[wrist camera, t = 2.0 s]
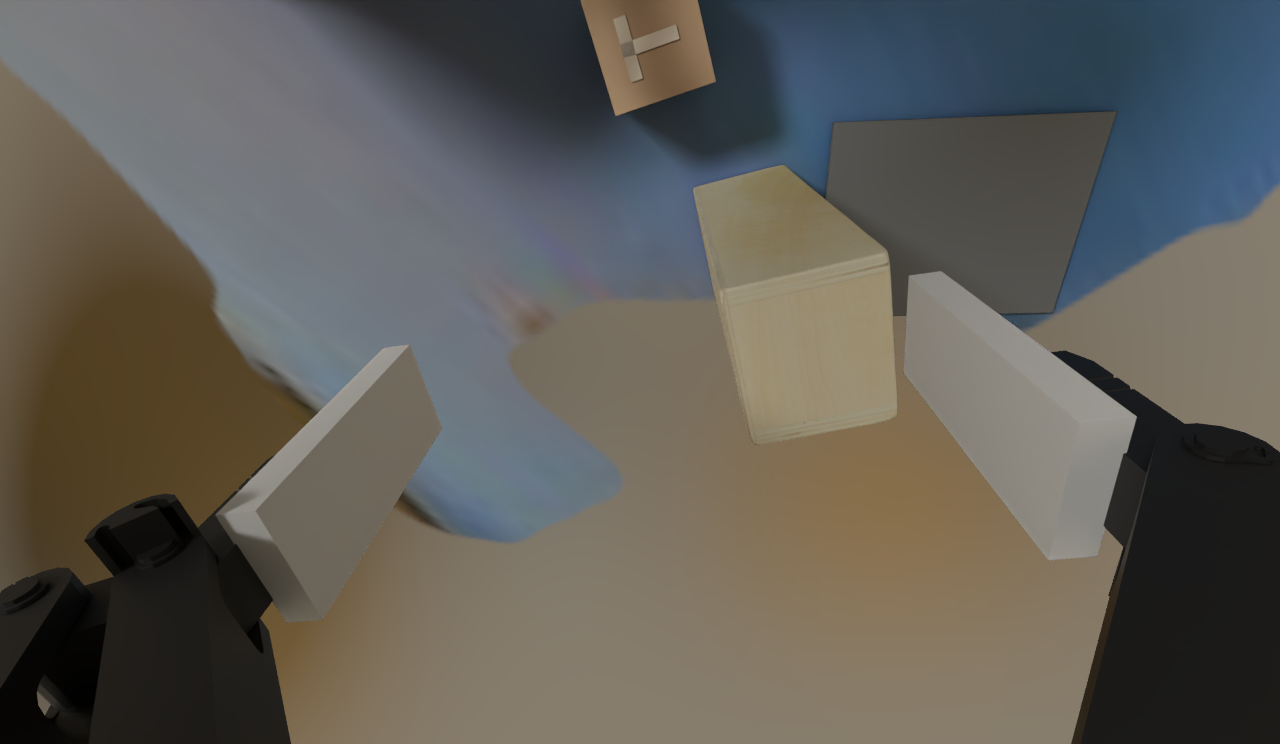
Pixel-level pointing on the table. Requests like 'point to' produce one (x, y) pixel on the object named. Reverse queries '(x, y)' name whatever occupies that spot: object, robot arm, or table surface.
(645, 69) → the letter cube
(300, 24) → the table surface
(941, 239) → the mat
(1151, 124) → the table surface
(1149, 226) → the table surface
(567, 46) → the table surface
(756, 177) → the light wooden block
